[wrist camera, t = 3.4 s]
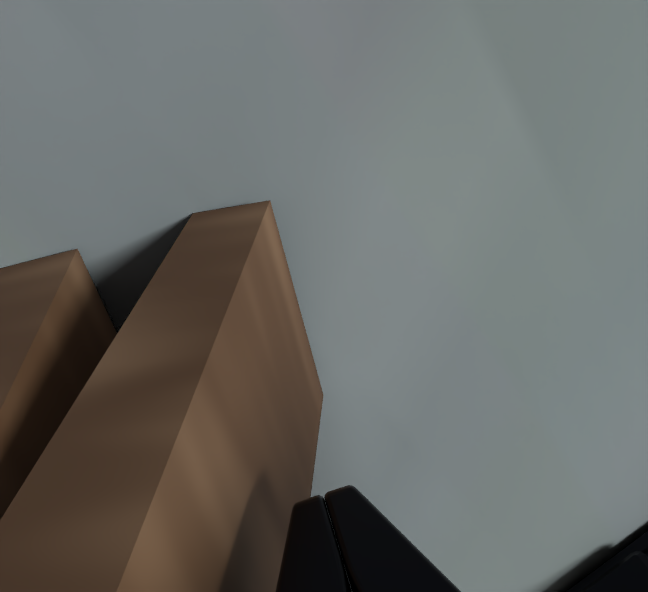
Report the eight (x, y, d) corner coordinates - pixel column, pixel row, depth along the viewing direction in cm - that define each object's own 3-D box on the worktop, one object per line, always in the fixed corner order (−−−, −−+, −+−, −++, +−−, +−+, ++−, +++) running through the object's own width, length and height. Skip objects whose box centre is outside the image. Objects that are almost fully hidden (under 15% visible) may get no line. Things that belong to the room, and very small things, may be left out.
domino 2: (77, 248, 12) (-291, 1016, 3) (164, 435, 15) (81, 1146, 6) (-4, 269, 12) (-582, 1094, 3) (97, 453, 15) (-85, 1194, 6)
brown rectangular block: (270, 200, 12) (1, 884, 4) (323, 395, 15) (239, 1067, 6) (192, 213, 12) (-224, 877, 4) (258, 402, 15) (91, 1051, 6)
